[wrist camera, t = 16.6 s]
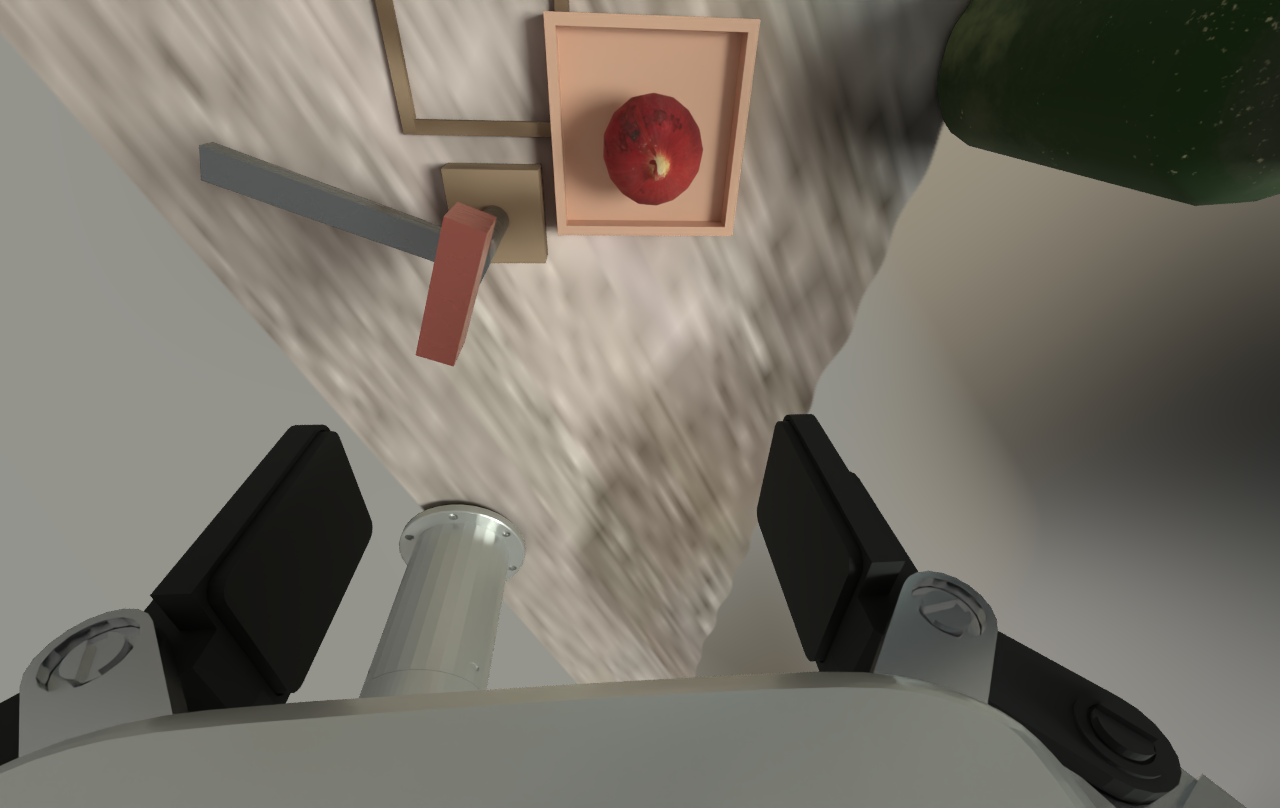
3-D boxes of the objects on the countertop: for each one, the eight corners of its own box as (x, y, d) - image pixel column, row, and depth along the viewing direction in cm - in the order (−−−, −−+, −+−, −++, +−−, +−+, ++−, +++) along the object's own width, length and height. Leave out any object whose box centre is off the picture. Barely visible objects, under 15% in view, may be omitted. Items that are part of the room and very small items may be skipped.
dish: (726, 227, 37) (732, 236, 35) (559, 225, 36) (557, 234, 34) (751, 20, 30) (760, 19, 28) (546, 13, 29) (543, 11, 27)
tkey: (523, 172, 32) (487, 233, 21) (495, 272, 35) (453, 366, 25) (286, 73, 28) (103, 88, 18) (282, 196, 32) (128, 269, 21)
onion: (583, 131, 32) (580, 154, 26) (657, 66, 30) (673, 71, 24) (638, 206, 35) (648, 243, 29) (708, 150, 33) (735, 176, 27)
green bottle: (903, 63, 32) (1455, 93, 11) (1069, -107, 28) (2386, -531, 7) (977, 180, 36) (1468, 353, 16) (1129, 50, 32) (2050, 56, 12)
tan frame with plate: (579, 253, 37) (578, 263, 36) (431, 253, 36) (423, 262, 35) (564, -89, 27) (562, -98, 25) (356, -100, 26) (340, -110, 24)
